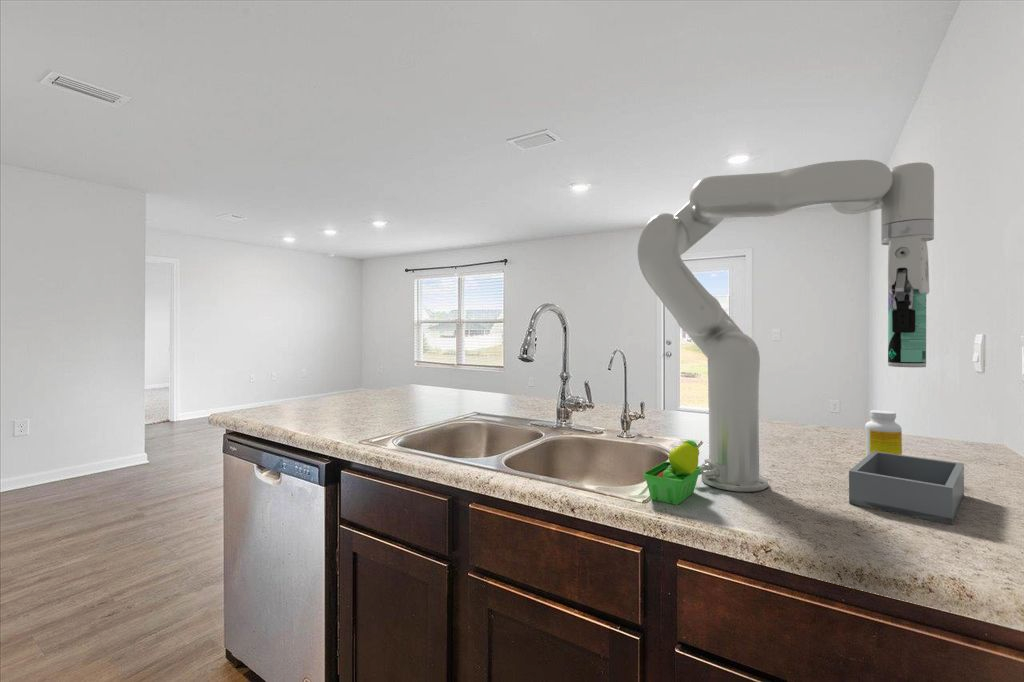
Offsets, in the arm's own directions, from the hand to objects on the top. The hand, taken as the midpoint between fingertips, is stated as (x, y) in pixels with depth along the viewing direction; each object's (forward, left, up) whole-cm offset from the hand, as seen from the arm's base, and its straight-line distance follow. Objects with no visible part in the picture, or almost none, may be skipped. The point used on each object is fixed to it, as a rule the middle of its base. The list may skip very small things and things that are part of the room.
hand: (906, 331), depth 89 cm
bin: (0, 0, -31) cm, 31 cm away
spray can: (0, 0, -7) cm, 7 cm away
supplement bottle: (+15, +17, -31) cm, 39 cm away
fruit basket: (-40, +13, -32) cm, 53 cm away
